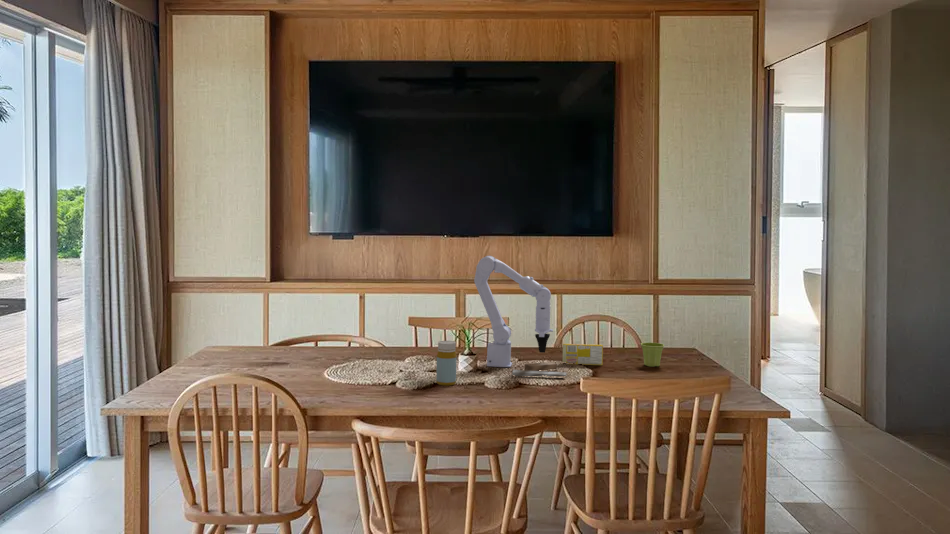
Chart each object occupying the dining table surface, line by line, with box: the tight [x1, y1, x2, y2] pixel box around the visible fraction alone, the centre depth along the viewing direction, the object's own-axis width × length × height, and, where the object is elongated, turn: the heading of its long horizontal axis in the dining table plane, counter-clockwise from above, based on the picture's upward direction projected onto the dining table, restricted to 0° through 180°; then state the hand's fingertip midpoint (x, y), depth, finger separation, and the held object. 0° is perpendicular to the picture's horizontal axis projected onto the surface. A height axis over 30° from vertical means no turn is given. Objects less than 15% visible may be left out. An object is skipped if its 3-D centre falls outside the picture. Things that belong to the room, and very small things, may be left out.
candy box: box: [562, 343, 604, 366], centre depth 323 cm, size 16×2×8 cm, turn 84°
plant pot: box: [640, 342, 665, 367], centre depth 323 cm, size 9×9×9 cm
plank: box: [524, 361, 558, 371], centre depth 309 cm, size 12×4×3 cm, turn 115°
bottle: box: [435, 340, 458, 387], centre depth 283 cm, size 7×7×15 cm
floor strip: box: [511, 369, 567, 377], centre depth 299 cm, size 20×6×2 cm, turn 82°
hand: (542, 352), depth 315 cm, fingers closed
